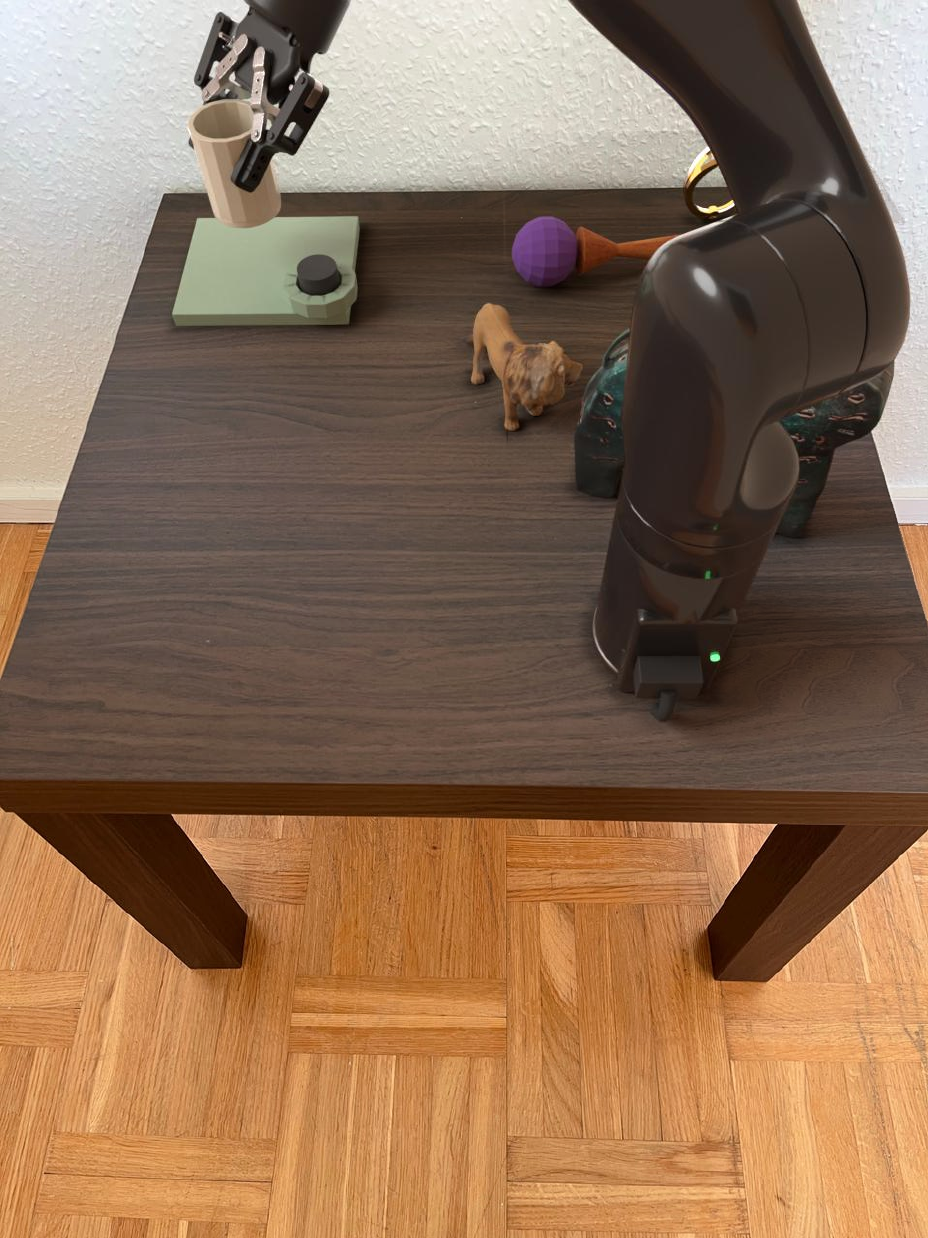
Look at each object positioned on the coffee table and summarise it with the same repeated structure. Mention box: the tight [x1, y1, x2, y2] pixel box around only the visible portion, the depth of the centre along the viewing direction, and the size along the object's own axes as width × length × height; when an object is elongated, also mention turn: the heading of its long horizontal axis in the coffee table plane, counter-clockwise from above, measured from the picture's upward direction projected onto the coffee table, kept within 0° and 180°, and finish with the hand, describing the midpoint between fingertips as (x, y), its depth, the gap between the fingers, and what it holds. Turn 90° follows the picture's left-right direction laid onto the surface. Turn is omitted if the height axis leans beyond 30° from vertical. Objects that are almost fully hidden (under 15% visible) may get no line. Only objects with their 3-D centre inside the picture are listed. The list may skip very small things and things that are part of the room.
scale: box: [171, 215, 361, 327], centre depth 86 cm, size 15×17×3 cm
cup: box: [186, 99, 282, 228], centre depth 79 cm, size 6×6×8 cm
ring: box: [682, 146, 737, 222], centre depth 87 cm, size 7×3×8 cm, turn 97°
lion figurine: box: [460, 302, 584, 432], centre depth 75 cm, size 15×5×9 cm, turn 33°
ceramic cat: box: [573, 327, 895, 539], centre depth 63 cm, size 20×6×20 cm, turn 73°
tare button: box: [297, 254, 339, 296], centre depth 82 cm, size 4×4×2 cm
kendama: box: [511, 215, 683, 288], centre depth 84 cm, size 6×6×20 cm
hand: (219, 168), depth 78 cm, fingers closed on cup, 6 cm apart
